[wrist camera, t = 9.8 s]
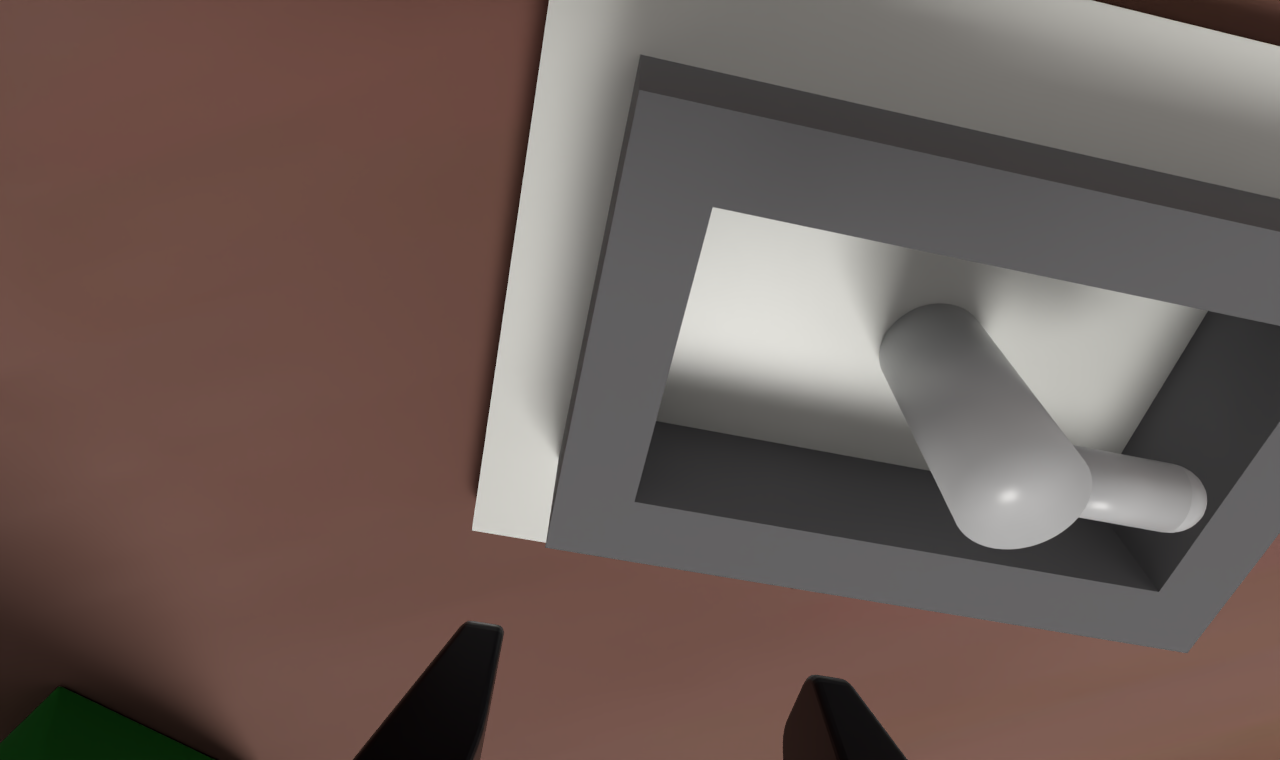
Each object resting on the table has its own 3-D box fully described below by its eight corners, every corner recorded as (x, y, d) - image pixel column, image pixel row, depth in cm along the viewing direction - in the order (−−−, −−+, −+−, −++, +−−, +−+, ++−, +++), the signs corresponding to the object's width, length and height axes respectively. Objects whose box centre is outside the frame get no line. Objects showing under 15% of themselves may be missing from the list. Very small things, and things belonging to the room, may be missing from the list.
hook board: (478, 504, 21) (425, 702, 16) (572, -128, 15) (531, -134, 9) (1134, 614, 23) (1274, 823, 18) (1495, 98, 16) (1890, 199, 11)
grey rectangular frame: (558, 459, 20) (545, 547, 17) (640, 53, 15) (639, 89, 12) (1120, 557, 21) (1187, 652, 18) (1346, 213, 16) (1477, 275, 14)
